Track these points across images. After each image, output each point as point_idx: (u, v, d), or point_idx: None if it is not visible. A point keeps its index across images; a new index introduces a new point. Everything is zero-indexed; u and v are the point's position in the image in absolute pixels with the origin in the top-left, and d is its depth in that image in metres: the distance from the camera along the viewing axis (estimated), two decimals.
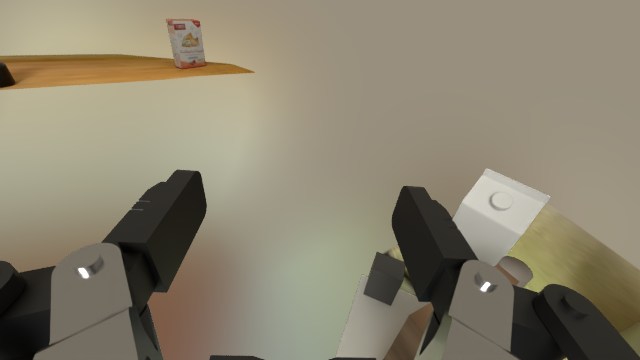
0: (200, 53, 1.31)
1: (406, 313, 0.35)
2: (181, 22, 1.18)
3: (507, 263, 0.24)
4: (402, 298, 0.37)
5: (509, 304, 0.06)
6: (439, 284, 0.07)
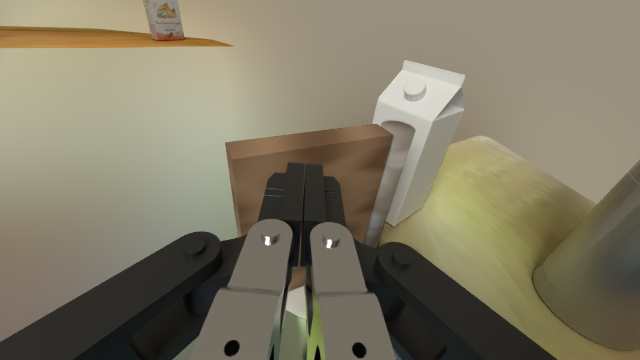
0: (177, 26, 1.29)
1: None
2: None
3: (389, 124, 0.20)
4: None
5: (339, 256, 0.07)
6: (307, 247, 0.08)
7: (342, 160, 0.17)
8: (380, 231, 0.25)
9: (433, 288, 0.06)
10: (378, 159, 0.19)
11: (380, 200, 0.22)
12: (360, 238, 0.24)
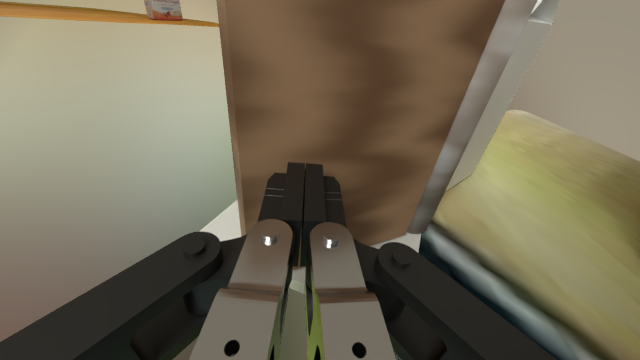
0: (175, 5, 1.21)
1: None
2: None
3: None
4: None
5: (339, 256, 0.07)
6: (307, 247, 0.08)
7: (430, 2, 0.09)
8: (448, 181, 0.16)
9: (433, 288, 0.06)
10: (480, 27, 0.11)
11: (461, 120, 0.14)
12: (419, 189, 0.16)
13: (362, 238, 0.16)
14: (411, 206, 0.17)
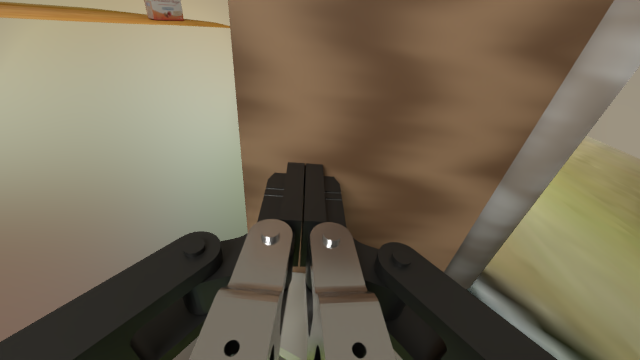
0: (176, 5, 1.18)
1: None
2: None
3: None
4: None
5: (339, 256, 0.07)
6: (307, 247, 0.08)
7: (471, 4, 0.08)
8: (504, 236, 0.13)
9: (433, 288, 0.06)
10: (562, 39, 0.08)
11: (528, 161, 0.10)
12: (457, 234, 0.13)
13: None
14: (445, 252, 0.14)
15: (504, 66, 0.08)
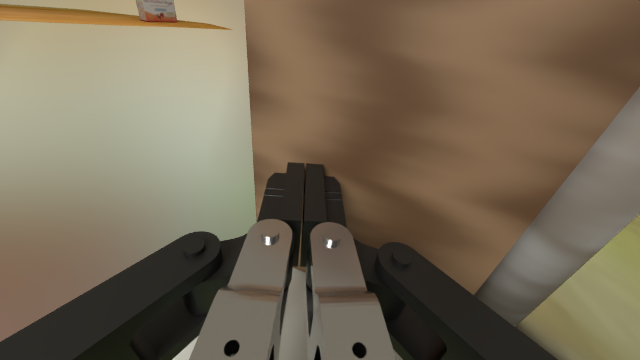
0: (169, 6, 1.15)
1: None
2: None
3: None
4: None
5: (339, 256, 0.07)
6: (307, 247, 0.08)
7: (484, 2, 0.06)
8: (534, 296, 0.10)
9: (433, 288, 0.06)
10: (622, 48, 0.06)
11: (571, 205, 0.08)
12: (472, 276, 0.11)
13: None
14: None
15: (532, 79, 0.07)
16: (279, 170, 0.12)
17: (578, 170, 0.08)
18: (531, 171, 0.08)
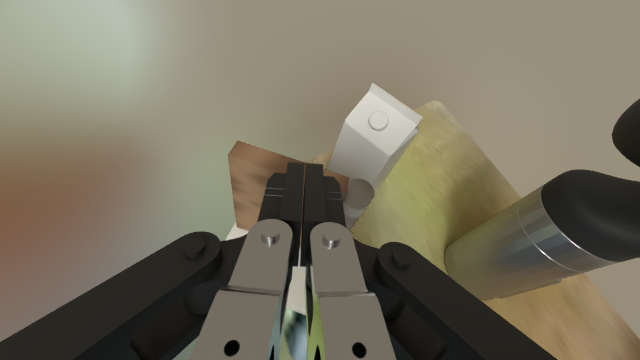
0: None
1: None
2: None
3: (358, 183, 0.24)
4: None
5: (339, 256, 0.07)
6: (307, 247, 0.08)
7: None
8: None
9: (433, 288, 0.06)
10: None
11: None
12: None
13: None
14: None
15: None
16: (245, 206, 0.30)
17: None
18: None
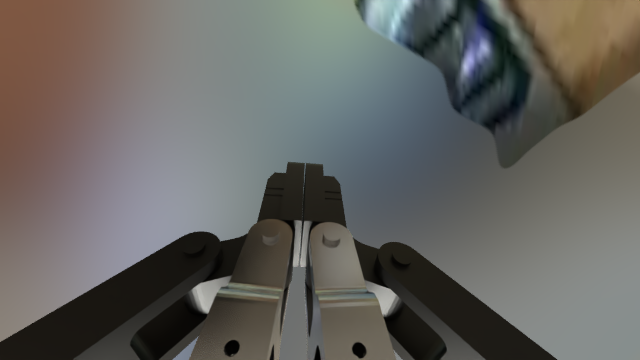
0: None
1: None
2: None
3: None
4: None
5: (339, 256, 0.07)
6: (307, 247, 0.08)
7: None
8: None
9: (433, 288, 0.06)
10: None
11: None
12: None
13: None
14: None
15: None
16: None
17: None
18: None
